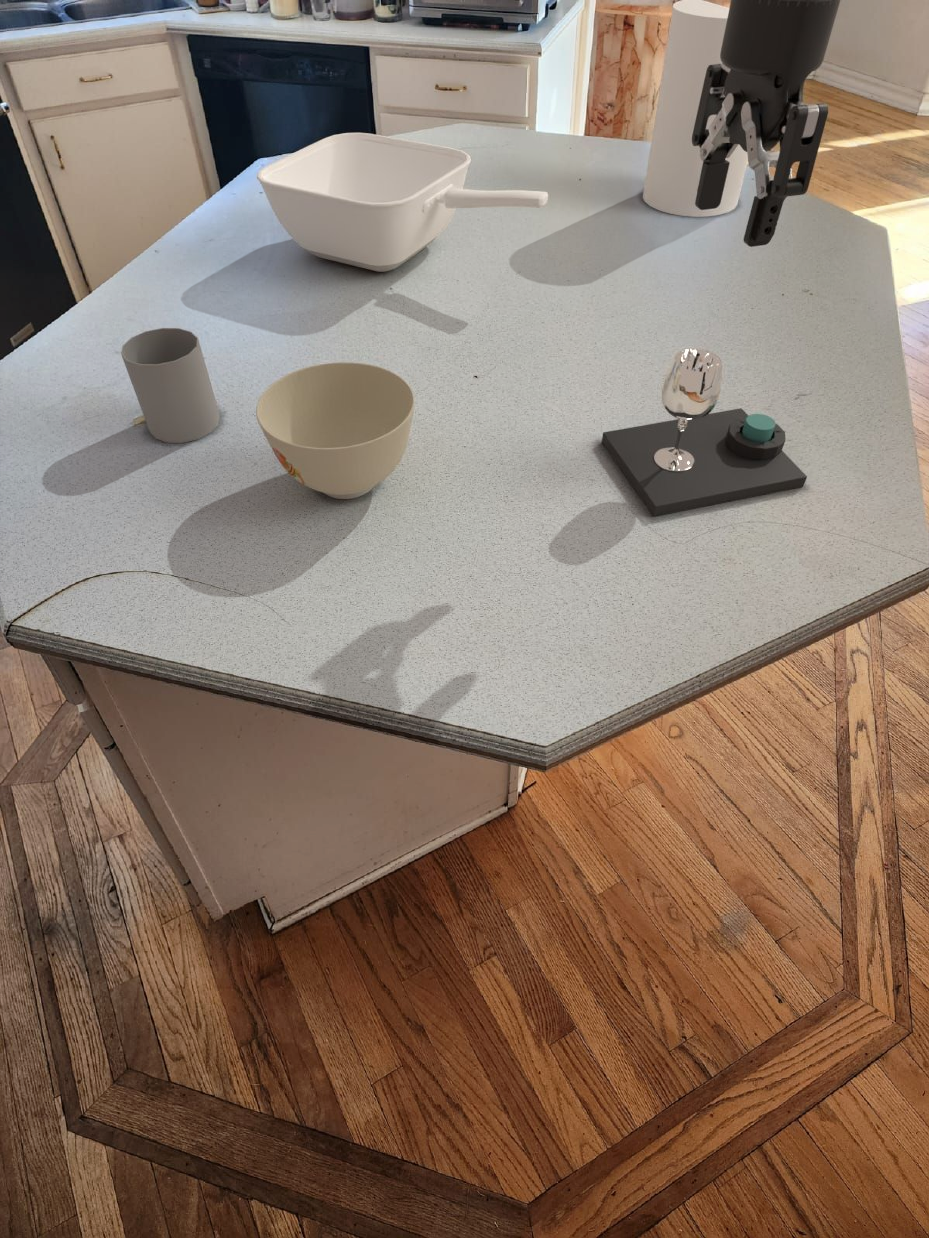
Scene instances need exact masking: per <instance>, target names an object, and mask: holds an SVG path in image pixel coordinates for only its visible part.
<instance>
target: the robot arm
mask: <svg viewBox="0 0 929 1238" xmlns="http://www.w3.org/2000/svg"><path fill="white" fill-rule="evenodd" d="M840 4H841V0H730V2H729V7H728V8H729V13H728V18H727V23H726V28H725V33H724V38H723V43H722V48H721V53H720V59H721V61H722V63H720V64H714V65H709V66H708V68H707V71H706V75H705V80H704V84H703V89H702V93H701V98H700V102H699V107H698V111H697V116H696V120H695V125H694V130H693V134H692V144H693V146H699V147H700V158H701V160H703V165H702V170H701V175H700V180H699V185H698V189H697V196H696V201H695V205H696V207H698V208H699V209H700V210H707V209H715V208H717V207H718V206H719V205H720V203H721V199H722V195H723V190H724V186H725V182H726V177H727V173H728V168H729V164H730V162H728V161H727V160H725V159H726V158H729V157H730V156H731V154H732V153H733V151H734V150H735V149H736V147H737V146H738V144H739V145H740V146H741V147H742V149H743V150H744V151H746V152H747V154H748V163H747V165H748V167H749V168H750V169H751V170H753V171H754V180H755V190H756V191H755V192H756V195H754V196H753V201H752V205H751V209H750V212H749V216H748V220H747V224H746V228H745V231H744V235H743V243H744V244H746V245H747V246H748V247H750V248H753V247H760V246H766V245H768V244H769V243H770V242H771V241H772V239H773V237H774V235H775V232H776V229H777V225H778V221H779V219H780V215H781V212H782V208H783V205H784V202H785V200H786V199H787V198H788V197H796V196H802V195H805V194H806V193H807V191H808V190H809V187H810V182H811V178H812V176H813V171H814V167H815V163H816V160H817V156H818V152H819V149H820V145H821V142H822V137H823V134H824V130H825V128H826V127H825V126H826V123H827V118H828V116H829V106H828V103H826V102H821V103H820V102H819V103H811V104H810V103H806V102H804V98H803V97H804V86H805V82H806V80H807V79H808V77H809V75H811V74H812V73H813V72H816V71H817V70H819V68H820V67H821V66H822V64H823V62H824V59H825V56H826V52H827V49H828V45H829V42H830V38H831V35H832V31H833V28H834V25H835V21H836V17H837V14H838V10H839V7H840ZM711 115H716V117H715V119H714V121H713V122H712V124H711V125H710V127H709V128H708V129H706V125H707V121H708V118H709V117H710V116H711ZM778 143H779V150H772V149H774V148H775V147H776V146H777V145H778ZM795 163H798V167H797V169H796V170H797V171H796V175H795V177H793V168H792V167H793V165H794V164H795ZM773 167H774V168H775V171H774V175H773V179H772V180H771V174H770V173H771V172H770V168H773Z"/></svg>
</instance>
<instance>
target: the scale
mask: <svg viewBox="0 0 929 1238" xmlns="http://www.w3.org/2000/svg"><path fill="white" fill-rule="evenodd" d="M748 416H749V414H748V413H746V411H745V410H744V409H743V408H742V407H741V408H740V407H739V408H734V409H729V410H723V411H716V412H710V413H709V414H708V415H706V416H705V417H703V418H700V419H697V420H688V425H687V427H686V429H685V431H684V433H683V435H682V438H681V442H680V447H679V448H680V449H683V450H686V451H687V452H689V453H690V454H691V455H692V456H693V457H694V460H695V462H694V465H693V467H692V468H690V469H689V470H686V471H681V472H674V471H669V470H666V469H663V468H661V467H660V466H658V465H657V464H656V462H655V461H654V455H655V453H656V452H657V451H658V450H660V449H662V448H666V447H675V445H676V441H677V436H678V428H677V427H678V422H679V420H680V419H678V418H676V419H672V420H667V421H666V420H665V421H660V422H655V423H649V424H643V425H637V426H632V427H626V428H620V429H615V430H609V431H604V432H602V437H601V444H602V445H603V447H604V448H605V449H606V451H607V452H608V454H609V455H610V457H611V458H612V460H613V461H614V462H615V463H616V465H617V467H618V468H619V469H620V471H621V472H622V474H623V476H624V477H625V478H626V479H627V481H628V482H629V484H630V485H631V487H632V489H634V491H635V492H636V494H637V495H638V497H639V498H640V500H641V501H642V502H643V504H644V505H645V506H646V509H648V511H649V512H650V514H651V515H652V517H659V516H664V515H668V514H669V515H670V514H674V513H678V512H683V511H688V510H689V511H690V510H693V509H699V508H703V507H708V506H713V505H714V506H715V505H719V504H723V503H728V502H734V501H739V500H745V499H749V498H753V497H754V498H755V497H759V496H765V495H769V494H773V493H779V492H784V491H790V490H793V489H799V488H803V487H804V486H805V483H806V481H807V478H808V476H807V475H806V474H805V472H804V471H802V469H800V467H799V466H798V465H796V463H795V462H794V461H793V460H792V459H791V458H790V456H788V455H787V454H786V453H785V452H784V451H783V448H784V446H785V442H786V432H785V430H784V429H783V428H782V427H781V426H780V425H778V424H777V423H776V422H775V428H774V431H773V434H772V436H771V439H770V440H769V441H767V442H755V441H751V440H749V439H747V438H744V436H743V435H742V430H743V427H744V424H745V420H746V418H747V417H748Z"/></svg>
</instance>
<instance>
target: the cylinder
mask: <svg viewBox="0 0 929 1238" xmlns="http://www.w3.org/2000/svg"><path fill="white" fill-rule="evenodd" d="M729 8H730V7H728V6H724V5H721V4H717V3H714V2H710V1H706V0H679V1H676V2H674V3H672V9H671V15H670V22H669V29H668V35H667V41H666V46H665V47H666V48H665V54H664V59H663V60H664V61H663V66H662V67H663V68H662V72H661V79H660V86H659V91H658V99H657V103H656V110H655V117H654V123H653V129H652V136H651V143H650V148H649V155H648V160H647V167H646V174H645V181H644V185H643V193H642V199H643V201H644V203H646V204H647V205H648V206H649V207H651V208H653V209H655V210H658V211H659V212H662V213H663V212H664V213H666V214H670V215H676V216H680V217H691V218H692V217H693V218H699V217H704V218H705V217H715V216H721V215H723V214H728V213H730V212H731V211H733V210H735V209H736V208H737V206H738V203H739V199H740V195H741V191H742V187H743V183H744V179H745V175H746V171H747V167H748V154H747V152H746V151H744V150H743V149H742V147H741V146H740V145H739V144H738V146H737V147H736V149H735V150H734V151H733V153H732V154H731V156H730V157H729V158H726V159H725V160H727V161H728V162H730V164H729V168H728V173H727V177H726V182H725V186H724V190H723V195H722V199H721V203H720V205H719V206H718V207H717V208H715V209H707V210H700V209H699V208H698V207H696V205H695V201H696V196H697V189H698V185H699V180H700V175H701V170H702V165H703V160H701V158H700V147H699V146H693V144H692V134H693V130H694V125H695V120H696V116H697V111H698V107H699V102H700V98H701V93H702V89H703V84H704V80H705V75H706V71H707V68H708V66H709V65H714V64H720V63H722V61H721V59H720V53H721V48H722V43H723V38H724V33H725V28H726V23H727V18H728V13H729ZM715 117H716V115H711V116H710V117H709V118H708V121H707V125H706V129H708V128H709V127H710V125H711V124H712V122H713V121H714V119H715Z"/></svg>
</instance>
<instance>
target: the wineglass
mask: <svg viewBox="0 0 929 1238" xmlns="http://www.w3.org/2000/svg"><path fill="white" fill-rule="evenodd" d="M722 379H723V361H722V358H721V357H720V356H719V355H718V354H716V353H715V352H712V351H710V350H708V349H703V348H695V347H694V348H685V349H682V350H679V351H678V352H676V353H675V355H674V357H673V359H672V360H671V363H670V364H669V367H668V369H667V371H666V374H665V376H664V380H663V384H662V388H661V403H662V405H663V407H664V409H665V410H666V412H667V413H668V414H669V415H670V416H671V417H674V418H676V419H680V420H679V422H678V427H677V428H678V436H677V441H676V445H675V447H666V448H662V449H660V450H658V451H657V452H656V453H655V455H654V461H655V462H656V464H657V465H658V466H660V467H661V468H663V469H666V470H669V471H674V472H681V471H686V470H689V469H690V468H692V467H693V465H694V462H695V460H694V457H693V456H692V455H691V454H690V453H689V452H687V451H686V450H683V449H680V448H679V447H680V442H681V438H682V435H683V433H684V431H685V429H686V427H687V425H688V420H697V419H700V418H703V417H705V416H706V415H708V414H711V413H712V411H713V410H714V408H715V407H716V405H717V404H718V400H719V398H720V394H721V389H722V381H723V380H722Z"/></svg>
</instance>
